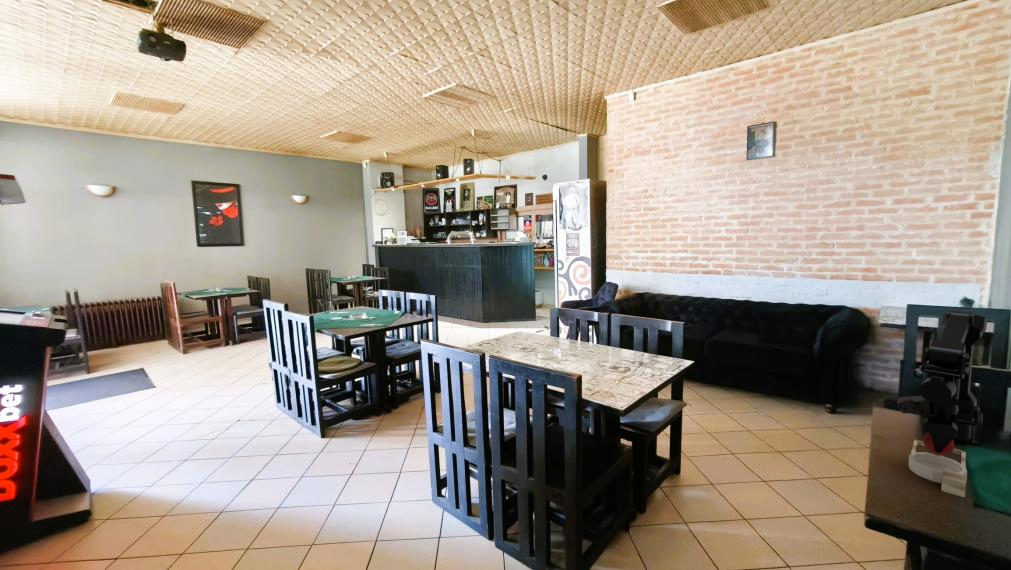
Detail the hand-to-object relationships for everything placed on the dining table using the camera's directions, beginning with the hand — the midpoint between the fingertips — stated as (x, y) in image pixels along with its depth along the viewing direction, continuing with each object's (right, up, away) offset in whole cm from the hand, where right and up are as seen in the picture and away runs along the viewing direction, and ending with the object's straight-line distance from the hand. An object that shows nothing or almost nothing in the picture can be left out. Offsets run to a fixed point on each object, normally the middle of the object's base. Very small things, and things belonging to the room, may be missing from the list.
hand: (938, 447), depth 112 cm
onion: (0, -2, 0) cm, 2 cm away
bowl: (0, -7, +1) cm, 7 cm away
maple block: (-3, -8, -6) cm, 11 cm away
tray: (+9, -6, +8) cm, 13 cm away
